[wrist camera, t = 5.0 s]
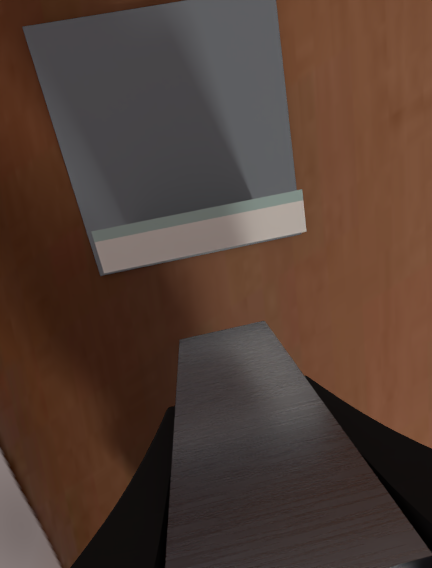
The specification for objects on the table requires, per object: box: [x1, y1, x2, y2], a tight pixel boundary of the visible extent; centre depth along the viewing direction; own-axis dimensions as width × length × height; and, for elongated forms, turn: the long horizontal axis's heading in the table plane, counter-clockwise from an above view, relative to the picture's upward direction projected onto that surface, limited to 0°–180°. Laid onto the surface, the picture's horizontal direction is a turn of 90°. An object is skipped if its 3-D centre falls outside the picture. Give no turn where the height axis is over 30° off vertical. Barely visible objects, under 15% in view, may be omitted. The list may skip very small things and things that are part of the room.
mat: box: [22, 0, 301, 276], centre depth 17 cm, size 14×14×1 cm
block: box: [165, 321, 432, 568], centre depth 9 cm, size 4×4×9 cm
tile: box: [91, 189, 306, 273], centre depth 14 cm, size 2×8×8 cm, turn 101°
